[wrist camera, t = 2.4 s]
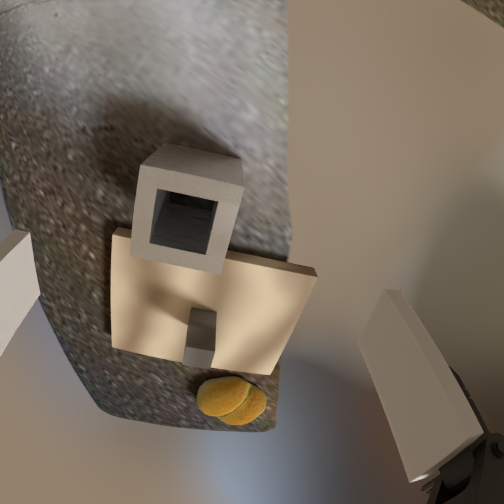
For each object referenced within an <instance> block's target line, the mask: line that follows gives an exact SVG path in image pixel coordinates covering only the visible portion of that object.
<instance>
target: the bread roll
mask: <svg viewBox="0 0 504 504" xmlns="http://www.w3.org/2000/svg"><path fill="white" fill-rule="evenodd" d="M197 404H198V406H199V408H200V409H201V411H202V412H203V413H205V414H207V415H209V416H216V417H217V418H218V419H220V420H221V421H223V422H225V423H227V424H231V425H243V424H246V423H249V422H251V421H252V420H254V419H255V418H256V417H257V416H259V415H260V414H261V413H262V412H263V411H264V410H265V406H266V397H265V395H264V393H263V392H262V391H261V390H260V389H259V388H258V387H256V386H254V385H252V384H250V383H248V382H247V381H246V380H244V379H242V378H240V377H237V376H227V377H219V378H214V379H209V380H207V381H205V382H204V383H203V384H202V385H201V386H200V387H199V390H198V394H197Z"/></svg>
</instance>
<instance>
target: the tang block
mask: <svg viewBox="0 0 504 504" xmlns="http://www.w3.org/2000/svg"><path fill="white" fill-rule="evenodd" d="M131 234H132V230H131V229H126V228H121V227H117V229H116V230H115V232H114V233H113V235H112V253H111V332H112V347H114V348H118V349H122V350H126V351H131V352H135V353H139V354H144V355H148V356H153V357H158V358H163V359H168V360H173V361H178V362H183V364H182V365H187V366H193V367H199V368H205V369H210V368H211V367H213V368H219V369H226V370H233V371H241V372H249V373H257V374H266V375H270V374H271V372H272V371H273V369H274V367H275V365H276V363H277V361H278V359H279V357H280V355H281V353H282V351H283V349H284V347H285V345H286V343H287V341H288V339H289V337H290V335H291V333H292V331H293V329H294V327H295V325H296V323H297V320H298V318H299V316H300V314H301V312H302V310H303V308H304V306H305V304H306V302H307V300H308V297H309V295H310V293H311V291H312V289H313V287H314V284H315V282H316V280H317V278H318V277H317V274H316V272H315V269H314V268H311V267H307V266H302V265H296V264H292V263H287V262H283V261H278V260H273V259H268V258H263V257H259V256H254V255H249V254H244V253H240V252H235V251H230V250H227V253H226V256H225V260H224V264H223V267H222V271H221V275H219V274H214V273H209V272H205V271H200V270H195V269H190V268H185V267H180V266H176V265H171V264H166V263H161V262H157V261H152V260H148V259H143V258H138V257H134V256H130V245H131Z"/></svg>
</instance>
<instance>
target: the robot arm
mask: <svg viewBox="0 0 504 504" xmlns="http://www.w3.org/2000/svg"><path fill="white" fill-rule="evenodd" d="M39 295H40V290H39V285H38V280H37V275H36V269H35V264H34V258H33V251H32V244H31V236H30V232H25V231H19V230H14V231H13V232H12V233H11V234H10V235H8V236H7V237H6V238H5V239H4V240H3V241H2V242H1V243H0V356H1V355H2V353H3V351H4V349H5V348H6V346H7V344H8V343H9V341H10V339H11V338H12V336H13V335H14V333H15V331H16V330H17V328H18V327H19V325H20V323H21V322H22V320H23V319H24V317H25V316H26V314H27V313H28V311H29V310H30V308H31V307H32V305H33V304H34V302H35V301H36V300H37V298H38V297H39ZM357 343H358V345H359V348H360V350H361V352H362V355H363V357H364V360H365V362H366V365H367V367H368V370H369V372H370V375H371V377H372V380H373V382H374V385H375V388H376V390H377V393H378V395H379V398H380V400H381V403H382V406H383V408H384V411H385V414H386V416H387V419H388V422H389V424H390V427H391V430H392V433H393V435H394V438H395V441H396V444H397V447H398V450H399V453H400V456H401V458H402V462H403V465H404V468H405V471H406V474H407V476H408V480H409V482H413V481H417V480H420V479H423V478H426V477H428V476H429V475H431V474H432V473H434V472H435V471H437V470H438V469H439V470H440V473H441V474H440V475H438V476H437V477H436V478H434V479H432V480H431V481H429V482H428V483H426V484H425V485H424V486H423V487H422V489H421V491H424V490H426V489H428V488H429V487H431V486H432V485H433V487H432V488H431V489H429V490H428V491H427V494H430V496H429V499H428V502H427V504H504V436H503V435H501V434H499V433H493V434H490V432H489V431H488V429H487V427H486V425H485V423H484V421H483V419H482V417H481V415H480V413H479V411H478V410H477V407H476V406H475V404H474V402H473V400H472V399H470V397H471V396H470V395H469V393H468V391H467V390H465V386H464V384H463V382H462V380H461V379H460V377H459V375H458V374H457V373H456V372H455V371H454V370H453V369H452V368H451V367H450V366H448V365H447V363H446V362H445V360H444V358H443V357H442V355H441V353H440V351H439V350H438V348H437V346H436V345H435V343H434V342H433V340H432V338H431V337H430V335H429V334H428V332H427V331H426V329H425V327H424V326H423V324H422V323H421V321H420V320H419V318H418V317H417V315H416V313H415V312H414V310H413V309H412V307H411V306H410V304H409V303H408V301H407V300H406V299H405V297H404V296H403V294H402V293H401V291H399V290H391V289H384V291H383V293H382V295H381V297H380V299H379V301H378V303H377V305H376V307H375V309H374V310H373V312H372V314H371V316H370V318H369V320H368V322H367V323H366V325H365V327H364V329H363V331H362V333H361V334H360V336H359V338H358V340H357Z"/></svg>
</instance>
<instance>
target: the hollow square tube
mask: <svg viewBox="0 0 504 504" xmlns="http://www.w3.org/2000/svg"><path fill="white" fill-rule="evenodd" d="M244 187H245V185H244V177H243V168H242V160H241V159H240V158H236V157H231V156H227V155H223V154H218V153H214V152H209V151H205V150H200V149H196V148H191V147H186V146H181V145H176V144H171V143H166V142H165V143H164V144H163V145H162V146H161V147H159V148H158V149H157V150H156V151H155V152H154V153H153V154H152V155H150V156H149V157H148V158H147V159H146V160H145V161H144V162H143V163H142V164H141V165H140V170H139V177H138V183H137V191H136V198H135V206H134V215H133V224H132V234H131V245H130V256H134V257H138V258H143V259H148V260H152V261H157V262H161V263H166V264H171V265H176V266H180V267H185V268H190V269H195V270H200V271H205V272H209V273H214V274H219V275H221V271H222V267H223V264H224V260H225V256H226V253H227V249H228V245H229V241H230V238H231V234H232V230H233V227H234V223H235V220H236V216H237V212H238V209H239V205H240V202H241V198H242V195H243V191H244ZM171 191H172V192H176V193H181V194H186V195H191V196H195V197H200V198H205V199H209V200H214V205H213V209H212V211H208V210H203V209H199V208H194V207H189V206H185V205H180V204H175V203H170V202H169V200H170V194H171Z"/></svg>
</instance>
